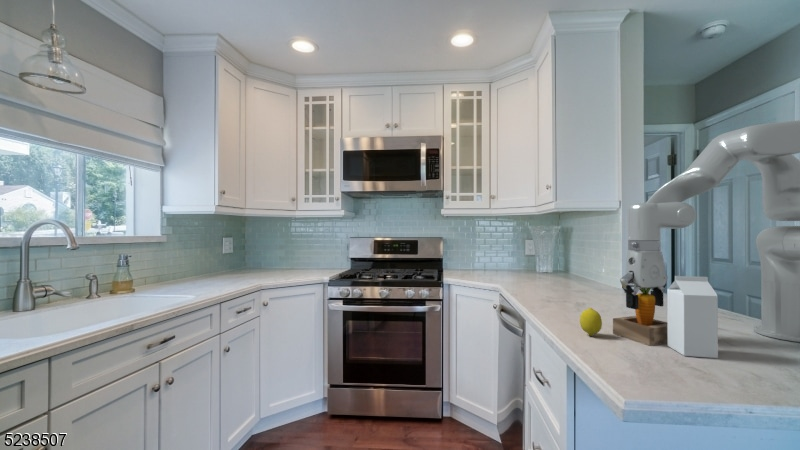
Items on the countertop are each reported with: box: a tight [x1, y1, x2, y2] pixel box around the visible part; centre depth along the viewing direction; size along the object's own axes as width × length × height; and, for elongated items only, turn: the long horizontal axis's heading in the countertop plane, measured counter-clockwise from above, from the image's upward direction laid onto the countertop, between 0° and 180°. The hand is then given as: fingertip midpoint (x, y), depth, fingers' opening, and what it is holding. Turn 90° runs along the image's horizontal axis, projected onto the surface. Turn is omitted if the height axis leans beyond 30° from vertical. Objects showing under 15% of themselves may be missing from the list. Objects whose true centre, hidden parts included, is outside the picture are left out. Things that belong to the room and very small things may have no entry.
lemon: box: [579, 307, 603, 337], centre depth 98 cm, size 6×6×8 cm
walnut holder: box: [612, 315, 668, 347], centre depth 97 cm, size 11×11×4 cm
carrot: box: [634, 287, 656, 326], centre depth 97 cm, size 5×5×15 cm
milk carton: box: [666, 275, 719, 359], centre depth 85 cm, size 7×7×19 cm
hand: (644, 306), depth 97 cm, fingers open, 9 cm apart
